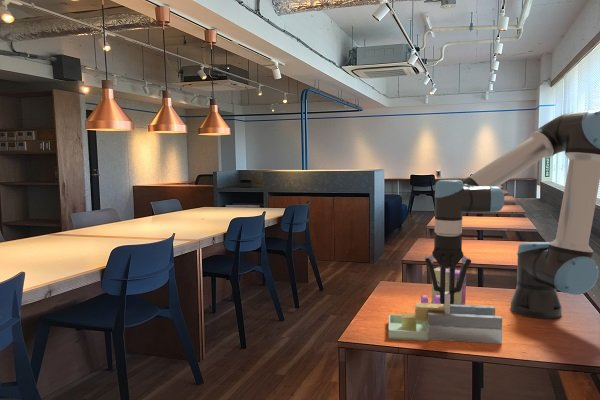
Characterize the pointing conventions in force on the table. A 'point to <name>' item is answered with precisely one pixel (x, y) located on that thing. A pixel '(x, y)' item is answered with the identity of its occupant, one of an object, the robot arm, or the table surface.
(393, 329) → the tray
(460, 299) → the box
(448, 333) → the channel
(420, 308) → the tan cube
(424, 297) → the bracket
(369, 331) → the table surface
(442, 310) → the beige cube
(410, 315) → the khaki cube
